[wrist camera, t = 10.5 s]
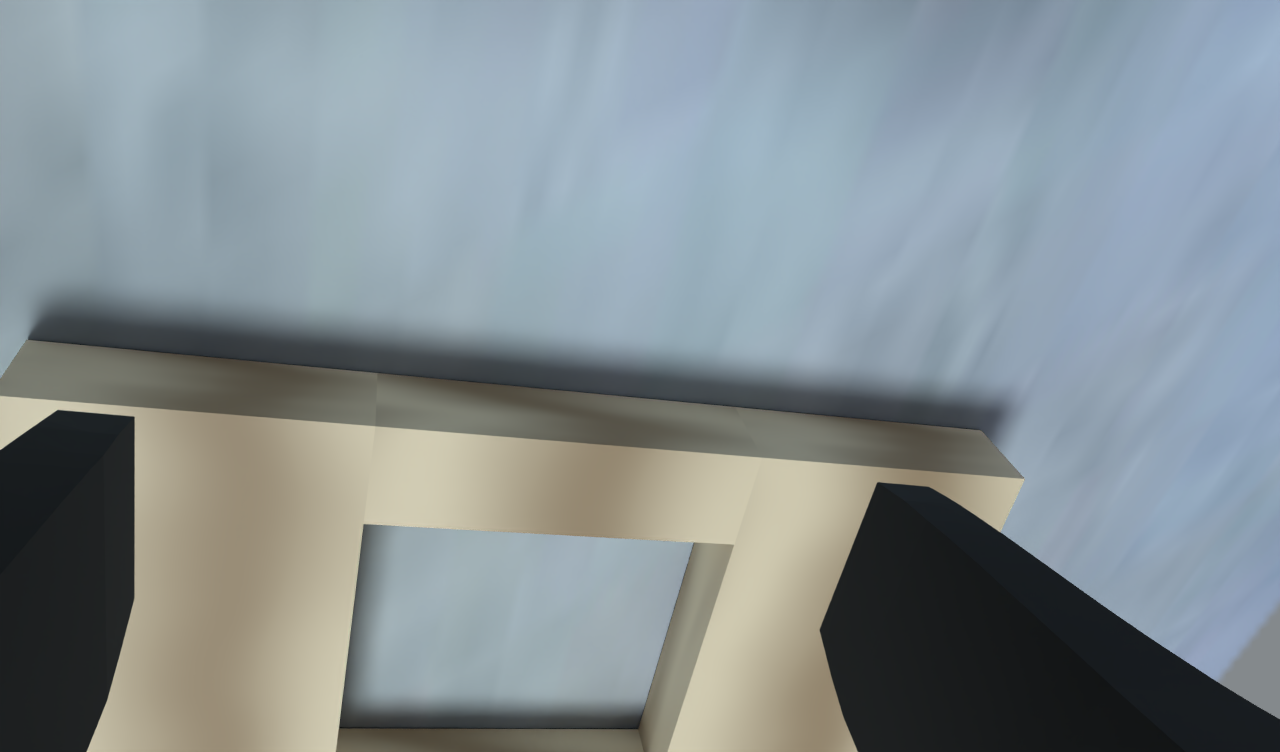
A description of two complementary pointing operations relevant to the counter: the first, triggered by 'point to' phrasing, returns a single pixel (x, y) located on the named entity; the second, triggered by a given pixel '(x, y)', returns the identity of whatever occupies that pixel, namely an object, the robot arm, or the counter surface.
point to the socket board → (471, 500)
